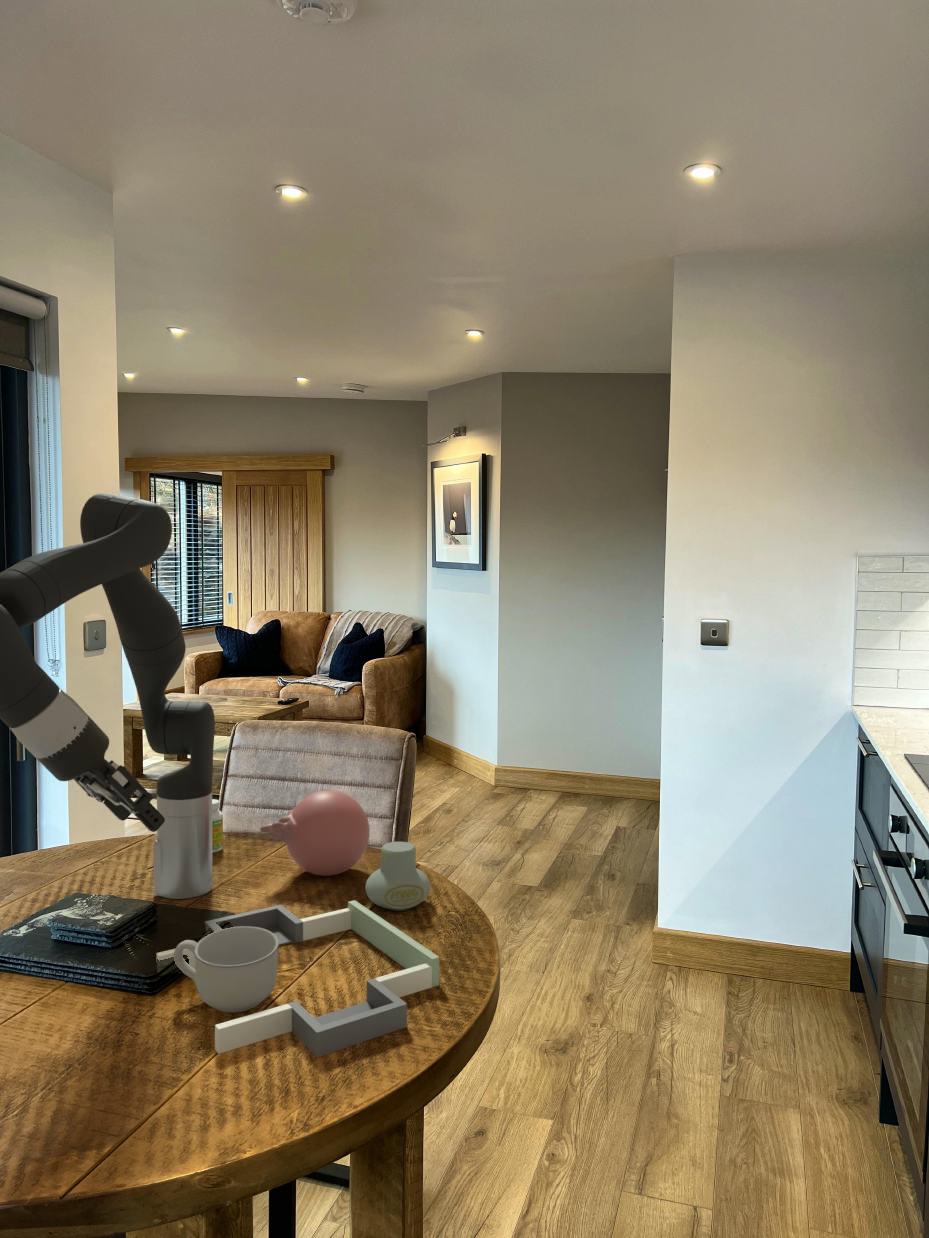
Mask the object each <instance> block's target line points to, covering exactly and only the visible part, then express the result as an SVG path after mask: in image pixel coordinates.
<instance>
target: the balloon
mask: <svg viewBox="0 0 929 1238" xmlns="http://www.w3.org/2000/svg"><path fill="white" fill-rule="evenodd" d="M259 830H260V832H261V833H268V835H269V836H270V837H271V839H272V840H274V841H278V840H279V841H282V842H284V843H285V845H286V847H287V850H288V853H289V855H290V856H291V858H292V859H293V861H294V862H295V863H296V865H298V866H299V867H300V868H301V869H303V870H305V871H306V872H308V873H310V874H312V875H316V876H322V877H328V876H329V877H330V876H337V875H339V874H343V873H345V872H347V871H348V870H350V869H351V868H353V867H354V866H355V865H356V864H357V863H358V862H359V861H360V860H361V859H362V857H363V856H364V854H365V852H366V850H367V847H368V845H369V841H370V824H369V819H368V816H367V813H366V812H365V810H364V808H363V807H362V805H361V804H360V803H359V802H358V801H357V800H356V799H354V798H353V797H352V796H350V795H348V794H346V793H344V792H342V791H337V790H331V789H330V790H329V789H328V790H319V791H317V792H313V793H311V794H309V795H307V796H305V797H303V799H302V800H300V801H299V802H298V803H297V804H296V805H295V806H294V807H293V808H292V809H291V810H289V812H288V813H287V814H286V815H285V816H282V817H280V819H278V820H276V821H273V822H272V823H267V824H266V825H262V826H260V828H259Z"/></svg>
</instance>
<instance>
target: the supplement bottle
mask: <svg viewBox="0 0 929 1238" xmlns="http://www.w3.org/2000/svg"><path fill="white" fill-rule="evenodd" d="M219 809H220V800H219V799H214V798H212V854H213V853H217V852H220V851H222V850H223V848H224V847H223V846H224V815H223V812H222V811H221V810H219Z"/></svg>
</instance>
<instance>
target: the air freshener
mask: <svg viewBox="0 0 929 1238" xmlns="http://www.w3.org/2000/svg"><path fill="white" fill-rule="evenodd" d="M416 849H417V848H416V846H415V845H414V844H413V843H411V842H408V841H391V842H386V843H384V844H383V845H382V846H381V847H380V868H378V869H377V870H375V871H374V872H372V873H371V874H370V875H369V876H368V878H367V880H366V882H365V893H366V896H367V897H368V899H369V900H370V901H371V902H372V903H373V904H375V905H377V906H378V907H380V908H383V909H387V910H390V911H394V912H395V911H397V912H403V911H407V910H410V909H411V908H414V907H417V906H418V905H420V904H421V903H422V902H423V901H425V900H426V899H427V898H428V896H429V894H430V891H431V882H430V880H429V878H428V876H427V875H426V873H424V872H423V871H422V870H420V869H418V868H416V866H417V865H416V857H417V856H416V852H417V851H416Z"/></svg>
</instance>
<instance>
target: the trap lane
mask: <svg viewBox="0 0 929 1238" xmlns="http://www.w3.org/2000/svg"><path fill="white" fill-rule="evenodd" d="M223 921H226V922H227V921H228V922H230V923H231V924H232V925H231V926H233V927H239V926H251V927H258V928H263V929H266V930H268V931H270V932H272V933H273V934H275V935H276V936H277V938H278V940H279V947H281V946H282V947H283V946H286V945H289V944H293V943H296V944H297V943H301V942H304V941H309V940H312V939H317V938H321V937H324V936H328V935H332V934H336V933H340V932H344V931H348V930H352V931H353V932H355V934H357V935H359V936H360V937H362V938H363V939H365V940H366V941H367V942H369V943H370V944H371V945H372V946H374V947H376V948H377V949H378V950H380V951H381V952H382V953H384V954H385V955H386V954H387V955H386V956H387V957H389V958H391V959H392V960H394V961H395V962H396V963H397V964H399V965H400V966H401V967H403V968H404V969H402V970H398V971H395V972H391V973H388V974H385V975H382V976H381V975H380V976H378V977H375V978H371V979H367V980H366V1001H364V1002H360V1003H358V1004H356V1005H351V1006H348V1007H345V1008H342V1009H339V1010H335V1011H332V1012H327V1013H326V1014H322V1015H319V1016H316V1017H314V1016H313V1015H312V1014H310V1012H308V1010H307V1009H305V1008H304V1007H303V1006H302V1004H300V1003H299V1002H298V1001H297V1000H296V1001H292V1002H288V1003H286V1004H282V1005H278V1006H276V1007H272V1008H269V1009H264V1010H262V1011H258V1012H254V1013H252V1014H249V1015H245V1016H241V1017H238V1018H237V1017H236V1018H234V1019H231V1020H228V1021H224V1022H221V1023H217V1024H215V1025H214V1050H215V1051H216V1053H217V1054H218V1055H219V1054H223V1053H226V1052H230V1051H233V1050H236V1049H240V1048H242V1047H246V1046H249V1045H252V1044H256V1043H258V1042H261V1041H266V1040H268V1039H271V1038H274V1037H277V1036H281V1035H284V1034H287V1033H291V1032H292V1033H293V1034H294V1036H295V1037H297V1039H299V1040H300V1041H301V1042H302V1044H303V1045H304V1046H306V1048H307V1049H308V1050H309V1051H310V1052H311V1053H312V1054H313V1055H314V1056H315V1057H316V1058H319V1057H322V1056H325V1055H328V1054H330V1053H335V1052H337V1051H340V1050H343V1049H345V1048H349V1047H353V1046H354V1045H358V1044H361V1043H364V1042H366V1041H369V1040H373V1039H375V1038H378V1037H381V1036H384V1035H387V1034H390V1033H393V1032H396V1031H400V1030H403V1029H406V1028H408V1026H407V1025H408V1003H407V1002H406V1001H404V1000H403V999H401V998H403V997H405V996H409V995H413V994H415V993H419V992H421V991H424V990H428V989H431V988H434V987H439V986H440V956H439V955H437V954H436V953H434V952H433V951H432V950H430V949H428V948H426V946H424V945H422V944H421V943H420V942H418V941H416V940H414V939H413V938H412V937H410V936H409V935H407V934H405V933H404V932H403V931H401V930H400V929H398V928H397V927H395V926H394V925H392V924H391V923H389V922H388V921H386V920H385V919H383V918H382V917H381V916H379V915H377V914H376V913H375V912H373V911H371V910H370V909H368V908H367V907H365V906H364V905H362V904H361V903H360V902H358V901H357V900H350V901H347V908H342V909H337V910H334V911H329V912H326V913H325V912H324V913H321V914H316V915H313V916H312V915H311V916H308V917H303V918H299V917H297V916H296V915H295V914H294V913H292V912H291V911H290V910H288V908H286V907H285V906H284V905H283V904H277V905H274V906H269V907H265V908H260V909H255V910H254V909H253V910H249V911H245V912H242V913H241V912H240V913H237V914H233V915H227V916H224V917H220V918H218V917H217V918H213V919H210V920H205V921H204V924H205V923H206V924H207V925H208V926H209V927H210V928H211V929H212V931H213V932H215V931H218V930H221V929H222V928H221V927H220V926H219V925H218V924H216V923H217V922H218V923H219V922H223ZM175 949H176V948H173V949H168V950H163V951H160V952H156V960H157V959H158V960H159V961H160V960H164V959H168V958H171V957H174V951H175ZM182 954H183V955H187V956H188V957H187V958H188V959H189V965H190V966H192V967H193V968H194V969H196V960H195V956H194V954H193V952H192V951H191V950H189V949H184V950H183V953H182Z"/></svg>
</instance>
